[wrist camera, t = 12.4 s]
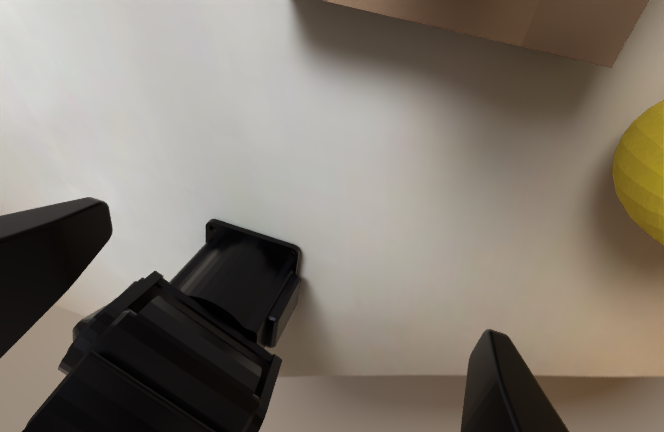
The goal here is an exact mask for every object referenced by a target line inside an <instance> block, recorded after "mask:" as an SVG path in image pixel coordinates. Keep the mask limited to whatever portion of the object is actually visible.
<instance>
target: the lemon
mask: <svg viewBox="0 0 664 432" xmlns="http://www.w3.org/2000/svg"><path fill="white" fill-rule="evenodd" d="M612 175H613V180H614V186H615V190H616V194H617V196H618V198H619V200H620V202H621V203H622V205H623V207H624V208H625V210H626V212H627V213H628V215H629V216H630V217H631V219H632V220H633V221H634V222H635V223H636V224H637V225H638V226H640V227H641V228H642V229H643V230H644V231H645V232H646V233H648V234H649V235H650V236H651V237H652V238H654V239H655V240H656V241H658V242H659V243H661V244H662V245H664V100H663V101H661V102H659V103H658V104H656V105H654V106H652V107H651V108H649V109H648V110H646V111H645V112H644V113H643V114H642V115H641V116H639V117H638V118H637V119H636V120H635V121H633V123H632V124H631V125H630V127H629V128H628V129H627V130H626V132H625V133H624V134H623V135H622V138H621V140H620V142H619V144H618V146H617V148H616V151H615V153H614V160H613V167H612Z"/></svg>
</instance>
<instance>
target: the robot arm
mask: <svg viewBox="0 0 664 432" xmlns="http://www.w3.org/2000/svg"><path fill="white" fill-rule="evenodd" d="M212 225H213V226H214V227H215V228H214V227H213V226H212ZM112 231H113V229H112V223H111V217H110V211H109V207H108V205H107V203H105V202H104V201H101V200H98V199H95V198H91V197H87V198H82V199H77V200H72V201H68V202H63V203H58V204H54V205H49V206H44V207H40V208H35V209H30V210H26V211H21V212H16V213H11V214H7V215H2V216H0V358H1V357H2V356H3V355H4V354H5V353H6V352H7V351H8V350H9V349H10V348H11V347H12V346H13V345H14V344H15V343H16V342H17V341H18V340H19V339H20V338H21V337H22V336H23V335H24V334H25V333H26V332H27V331H28V330H29V329H30V328H31V327H32V326H33V325H34V324H35V323H36V322H37V321H38V320H39V319H40V318H41V317H42V316H43V315H44V314H45V313H46V312H47V311H48V310H49V309H50V308H51V307H52V306H53V305H54V304H55V303H56V302H57V301H58V300H59V299H60V298H61V297H62V295H63V294H64V293H65V292H66V291H67V290H68V289H69V288H70V287H71V286H72V285H73V283H74V282H75V281H76V280H77V279H78V277H79V276H80V275H81V274H82V272H83V271H84V270H85V269H86V268H87V266H88V265H89V264H90V263H91V261H92V260H93V259H94V258H95V256H96V255H97V254H98V253H99V252H100V250H101V249H102V248H103V247H104V245H105V244H106V243H107V242H108V240H109V239H110V237H111V235H112ZM290 251H292V252H294V254H293V253H291V252H290ZM299 258H300V249H299V248H298V247H297V246H296V245H294V244H291V243H288V242H285V241H282V240H278V239H275V238H272V237H269V236H266V235H263V234H260V233H257V232H254V231H251V230H247V229H244V228H241V227H238V226H235V225H232V224H229V223H226V222H223V221H219V220H216V219H211V220H210V221H209V222H208V223H207V224H206V244H205V245H204V246H203V247H202V248H201V249H200V250H199V251H198V252H197V254H196V255H195V256H194V257H193V258H192V259H191V260H190V261H189V262H188V263H187V264H186V265H185V266H184V267H183V268H182V269H181V270H180V272H179V273H178V274H177V275H176V276H175V277H174V278H173V279H172V280H171V281H170V282H168V281H166V280H165V279H164V278H163V276H162V275H161V274H159V273H158V272H157V271H154V272H153V273H151V274H150V275H149V276H148V277H146V278H145V279H144V278H141V279H140V280H139V281H135V282H134V283H133V284H131V285H130V286H129V287H128V288H127V289H126V290H125V291H124V292H123V293H122V294H121V295H120V296H119V297H117V298H116V299H115V300H113V301H112V302H111V303H110V304H108V305H106V306H104V307H103V308H101V309H99V310H97V311H96V312H94V313H92V314H90V315H89V316H87V317H85V318H84V319H82V320H81V321H80V322H78V323H77V325H76V326H75V327H74V328H73V343H72V344H71V346H70V347H69V349H68V351H67V354H66V355H65V357H64V358H63V360H62V361H61V363H60V365H59V367H58V370H60V371H61V372H63V373H64V374H66V375H67V376H66V377H65V378H64V379H63V381H62V382H61V383H60V384H59V385H58V387H57V388H56V389H55V390H54V391H53V393H52V394H51V395H50V396H49V397H48V398H47V400H46V401H45V402H44V403H43V404H42V406H41V407H40V408H39V409H38V410H37V412H36V413H35V414H34V415H33V416H32V418H31V419H30V420H29V422H28V424H27V426H26V428H25V429H24V430H23V431H22V432H258V431H259V429H260V427H261V425H262V423H263V420H264V418H265V415H266V412H267V409H268V406H269V402H270V399H271V395H272V392H273V389H274V385H275V382H276V379H277V376H278V372H279V369H280V366H281V362H282V359H281V358H279V357H278V356H276V355H275V354H274V355H272V354H271V353H269V352H268V351H266V350H265V349H264V348H265V347H268V348H273V347H275V346H276V344H277V342H278V340H279V338H280V336H281V334H282V332H283V330H284V328H285V326H286V324H287V322H288V320H289V318H290V316H291V314H292V312H293V310H294V308H295V306H296V304H297V298H298V293H299V287H300V281H301V278H300V276H299V275H297V270H298V264H299ZM461 432H569V431H568V429H567V427H566V426H565V424H564V423H563V421H562V420H561V418H560V416H559V415H558V413H557V412H556V410H555V409H554V407H553V406H552V404H551V403H550V401H549V399H548V398H547V396H546V394H545V393H544V391H543V390H542V388H541V387H540V385H539V384H538V382H537V380H536V379H535V377H534V376H533V374H532V373H531V371H530V369H529V368H528V366H527V365H526V363H525V362H524V360H523V358H522V357H521V355H520V354H519V352H518V351H517V349H516V347H515V346H514V344H513V343H512V341H511V340H510V338H509V337H508V336H507V335H506V334H503V333H500V332H497V331H494V330H491V329H487V330H486V331H484V333H483V334H482V336H481V338H480V339H479V341H478V343H477V344H476V346H475V348H474V349H473V351H472V353H471V355H470V358H469V363H468V372H467V380H466V389H465V397H464V406H463V415H462V424H461Z"/></svg>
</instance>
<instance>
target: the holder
mask: <svg viewBox="0 0 664 432" xmlns="http://www.w3.org/2000/svg"><path fill="white" fill-rule="evenodd" d="M322 1H327V2H331V3H335V4H339V5H344V6H348V7H352V8H357V9H361V10H365V11H370V12H374V13H378V14H382V15H387V16H391V17H395V18H400V19H404V20H408V21H413V22H417V23H421V24H425V25H430V26H434V27H438V28H443V29H447V30H451V31H456V32H460V33H464V34H469V35H473V36H477V37H481V38H486V39H490V40H494V41H499V42H503V43H507V44H512V45H516V46H520V47H524V48H529V49H533V50H537V51H542V52H546V53H550V54H555V55H559V56H563V57H567V58H572V59H576V60H580V61H585V62H589V63H593V64H598V65H602V66H606V67H611V68H612V66H613V64H614V62H615V60H616V59H617V57H618V55H619V53H620V51H621V50H622V48H623V46H624V44H625V42H626V41H627V39H628V37H629V35H630V33H631V32H632V30H633V28H634V26H635V24H636V23H637V21H638V19H639V17H640V15H641V14H642V12H643V10H644V8H645V6H646V5H647V3H648V1H649V0H322Z"/></svg>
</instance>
